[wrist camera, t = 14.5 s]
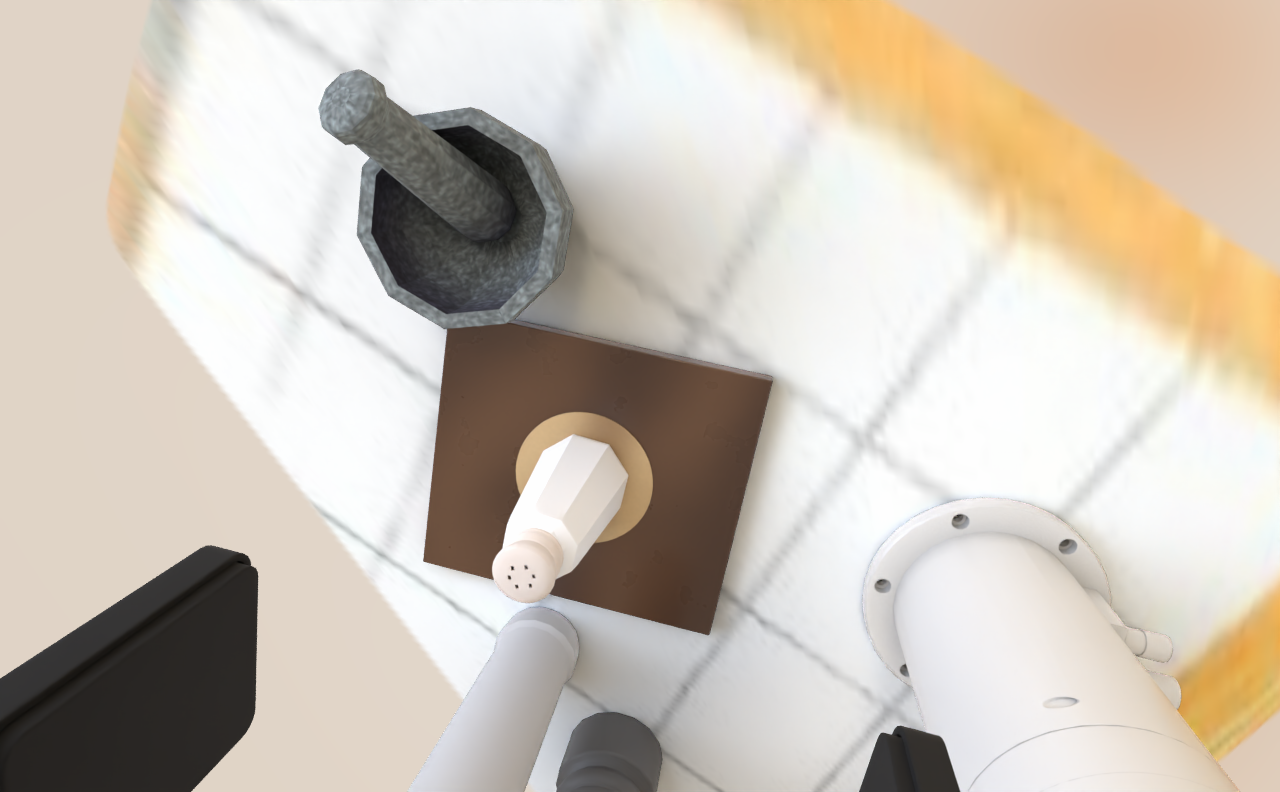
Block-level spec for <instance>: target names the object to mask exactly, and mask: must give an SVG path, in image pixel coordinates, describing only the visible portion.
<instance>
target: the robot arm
mask: <svg viewBox="0 0 1280 792" xmlns="http://www.w3.org/2000/svg"><path fill="white" fill-rule="evenodd" d="M958 514H961V516H960V517H959V518H953V517H954V516H956V515H958ZM1064 540H1065V541H1064ZM1062 541H1064V542H1062ZM1061 542H1062V543H1061ZM880 579H884V580H883V581H878V580H880ZM862 602H863V614H864V619H865V623H866V628H867V632H868V635H869V637H870V640H871V642H872V644H873V647H874V649H875V651H876V652H877V654H878V655H879V657H880V658H881V660H882V661H883V662H884V664H885V665H886V667H887V668H888V669H889V670H890V671H891V672H892V673H893V674H894V675H895V676H896V677H897V678H899V679H900V680H901V681H903V682H904V683H906V684H907V685H909V686H910V687H912V688H913V690H914V693H915V697H916V700H917V703H918V707H919V710H920V714H921V717H922V721H923V724H924V728H925V731H926V732H923V731H919V730H915V729H911V728H907V727H904V726H897V727H896V728H895V730H894V731H893V734H892V735H890V734H887V733H881V734H880V735H879V737H878V739H877V742H876V745H875V748H874V751H873V753H872V756H871V759H870V762H869V765H868V768H867V771H866V774H865V776H864V779H863V782H862V785H861V788H860V791H859V792H1240V791H1239V790H1238V788H1237V787H1236V786H1235V784H1234V783H1233V782H1232V781H1231V779H1230V778H1229V777H1228V775H1227V774H1226V773H1225V772H1224V770H1223V769H1222V768H1221V767H1220V765H1219V764H1218V763H1217V761H1216V760H1215V759H1214V757H1213V756H1212V755H1211V754H1210V752H1209V751H1208V750H1207V748H1206V747H1205V746H1204V744H1203V743H1202V742H1201V741H1200V739H1199V738H1198V737H1197V735H1196V734H1195V733H1194V732H1193V730H1192V729H1191V728H1190V726H1189V725H1188V724H1187V723H1186V721H1185V720H1184V719H1183V717H1182V716H1181V715H1180V713H1179V712H1178V711H1177V710H1178V708H1179V706H1180V702H1181V689H1180V686H1179V684H1178V682H1177V680H1176V679H1174V678H1173V677H1172V676H1168V675H1164V674H1160V673H1156V672H1152V671H1148V670H1145V668H1144V667H1143V666H1142V664H1141V663H1140V662H1139V660H1138V659H1137V658H1136V657H1135V655H1136V656H1138V657H1142V658H1146V659H1150V660H1154V661H1158V662H1162V663H1164V662H1168V660H1169V659H1170V658H1171V656H1172V652H1173V645H1172V641H1171V639H1170V637H1168V636H1166V635H1163V634H1159V633H1155V632H1151V631H1147V630H1143V629H1138V630H1137V629H1133V628H1129V627H1126V626H1125V624H1124V623H1123V622H1122V621H1121V619H1120V618H1119V617H1118V616H1117V614H1116V613H1115V612H1114V611H1113V609H1112V608H1111V593H1110V589H1109V584H1108V580H1107V575H1106V573H1105V571H1104V569H1103V567H1102V565H1101V563H1100V561H1099V559H1098V557H1097V556H1096V554H1095V553H1094V552H1093V551H1092V549H1091V548H1090V547H1089V546H1088V544H1087V543H1086V542H1085V541H1084V540H1083V539H1082V538H1081V537H1080V536H1079V535H1078V534H1077V533H1076V532H1075V531H1074V530H1073V529H1072V528H1071V527H1070V526H1069V525H1068V524H1066V523H1065V522H1063V521H1062V520H1060V519H1059V518H1057V517H1056V516H1054V515H1053V514H1051V513H1049V512H1047V511H1044V510H1042V509H1040V508H1037V507H1035V506H1033V505H1030V504H1027V503H1022V502H1018V501H1014V500H1009V499H1000V498H983V497H982V498H973V499H964V500H957V501H953V502H950V503H946V504H943V505H939V506H936V507H934V508H931V509H929V510H927V511H925V512H923V513H921V514H919V515H917V516H915V517H913V518H912V519H910V520H909V521H908V522H906V523H905V524H903V525H902V526H901V527H899V528H898V529H897V530H896V531H895V532H894V533H893V534H892V535H891V536H890V537H889V538H888V539H887V540H886V541H885V542H884V543H883V544H882V546H881V547H880V549H879V550H878V552H877V554H876V555H875V557H874V558H873V560H872V562H871V564H870V567H869V569H868V572H867V575H866V577H865V582H864V589H863V595H862ZM257 604H258V572H257V570H256V568H254V567H252V566H251V562H250V559H249V558H248V556H247V555H245V554H243V553H239V552H235V551H231V550H227V549H223V548H220V547H216V546H205V547H203V548H200V549H199V550H197V551H196V552H194V553H193V554H191V555H189V556H188V557H186V558H185V559H184V560H182V561H180V562H179V563H177V564H176V565H174V566H173V567H171V568H170V569H168V570H166V571H165V572H164V573H162V574H160V575H159V576H157V577H156V578H154V579H153V580H151V581H149V582H148V583H146V584H145V585H143V586H142V587H140V588H139V589H137V590H136V591H134V592H133V593H131V594H129V595H128V596H126V597H125V598H123V599H122V600H120V601H119V602H117V603H116V604H114V605H113V606H111V607H110V608H108V609H106V610H105V611H103V612H102V613H100V614H99V615H97V616H96V617H94V618H93V619H92V620H90V621H88V622H87V623H85V624H83V625H82V626H80V627H79V628H77V629H76V630H74V631H73V632H71V633H70V634H68V635H67V636H65V637H63V638H62V639H60V640H59V641H57V642H56V643H54V644H53V645H51V646H50V647H48V648H46V649H45V650H43V651H42V652H40V653H39V654H37V655H36V656H34V657H33V658H31V659H30V660H28V661H26V662H25V663H23V664H22V665H20V666H19V667H17V668H16V669H14V670H13V671H11V672H10V673H8V674H7V675H5V676H3V677H2V678H0V792H191V791H192V790H193V789H194V788H195V787H196V786H197V785H198V784H199V783H200V782H201V781H202V780H203V778H204V777H205V776H206V775H207V774H208V773H209V772H210V771H211V770H212V769H213V768H214V767H215V766H216V765H217V764H218V763H219V761H220V760H221V759H222V758H223V757H224V756H225V755H226V754H227V753H228V752H229V751H230V750H231V749H232V748H233V747H234V745H235V744H236V743H237V742H238V741H239V740H240V739H241V738H242V737H243V736H244V734H245V733H246V732H247V730H248V728H249V727H250V725H251V723H252V720H253V717H254V714H255V701H256V697H255V696H256V653H257V652H256V651H257V606H258V605H257ZM1134 654H1135V655H1134Z"/></svg>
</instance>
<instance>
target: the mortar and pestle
mask: <svg viewBox="0 0 1280 792" xmlns="http://www.w3.org/2000/svg"><path fill="white" fill-rule="evenodd" d="M319 113H320V119H321V124H322V127H323V129H325V130H326V131H327V132H328V133H330V134H331V135H332V136H334V137H335V138H337V139H338V140H339V141H341V142H342V143H343V144H345V145H349V144H354V145H356V146H357V147H358V148H359V149H360V150H362V151H363V152H364V153H365V154H366V155H367V156H369V157H370V158H369V160H368V161H367V162H366V163H365V164H364V165H363V167H362V174H361V188H360V201H359V214H358V227H357V236H358V238H359V240H360V242H361V244H362V246H363V248H364V250H365V252H366V254H367V255H368V257H369V259H370V261H371V263H372V265H373V267H374V269H375V271H376V273H377V275H378V277H379V279H380V280H381V282H382V284H383V286H384V288H385V290H386V292H387V294H388V296H390V297H391V298H393V299H395V300H396V301H398V302H400V303H401V304H403V305H405V306H407V307H408V308H410V309H412V310H413V311H415V312H417V313H418V314H420V315H422V316H423V317H425V318H427V319H428V320H430V321H432V322H433V323H435V324H437V325H439V326H440V327H442V328H444V329H450V328H461V327H472V326H484V325H495V324H506V323H508V322H510V321H511V320H513V319H515V318H516V317H517V316H518V315H519V314H520V313H521V312H522V311H523V310H524V309H526V308H527V307H528V306H529V305H530V304H531V303H532V302H533V301H534V300H535V299H536V298H537V297H538V296H539V295H540V294H541V293H542V292H543V291H544V290H545V289H546V288H547V287H548V286H549V285H550V284H551V283H553V282H554V281H555V280H556V279H557V278H558V277H559V276H560V274H561V273H562V271H563V270H564V263H565V257H566V251H567V245H568V239H569V233H570V227H571V221H572V215H573V207H572V205H571V203H570V200H569V198H568V196H567V194H566V192H565V189H564V187H563V185H562V183H561V181H560V178H559V176H558V174H557V172H556V170H555V167H554V165H553V163H552V161H551V159H550V157H549V154H548V152H547V150H546V149H544V148H543V147H542V146H541V145H539V144H538V143H536V142H534V141H533V140H531V139H529V138H528V137H526V136H524V135H523V134H521V133H519V132H518V131H516V130H514V129H513V128H511V127H509V126H507V125H506V124H504V123H502V122H501V121H499V120H497V119H496V118H494V117H492V116H491V115H489V114H487V113H486V112H484V111H482V110H479V109H475V108H471V107H470V108H463V109H456V110H450V111H443V112H436V113H430V114H423V115H416V116H412V115H410V114H409V113H408V112H406V111H405V110H404V109H402V108H401V107H400V106H398V105H397V104H396V103H394V102H393V101H392V100H390V99H389V98H388V97H387V96H386V92H385V88H384V85H383V84H382V83H380V82H379V81H378V80H377V79H376V78H374V77H372V76H371V75H369V74H367V73H366V72H364V71H362V70H354V71H350V72H347V73H343V74H340V75H339V76H338V77H337V78H336V79H335V80H334V81H333V82H332V83H331V84H330V85H329V86H328V87H327V88H326V90H325V92H324V95H323V98H322V100H321V103H320V106H319Z"/></svg>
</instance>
